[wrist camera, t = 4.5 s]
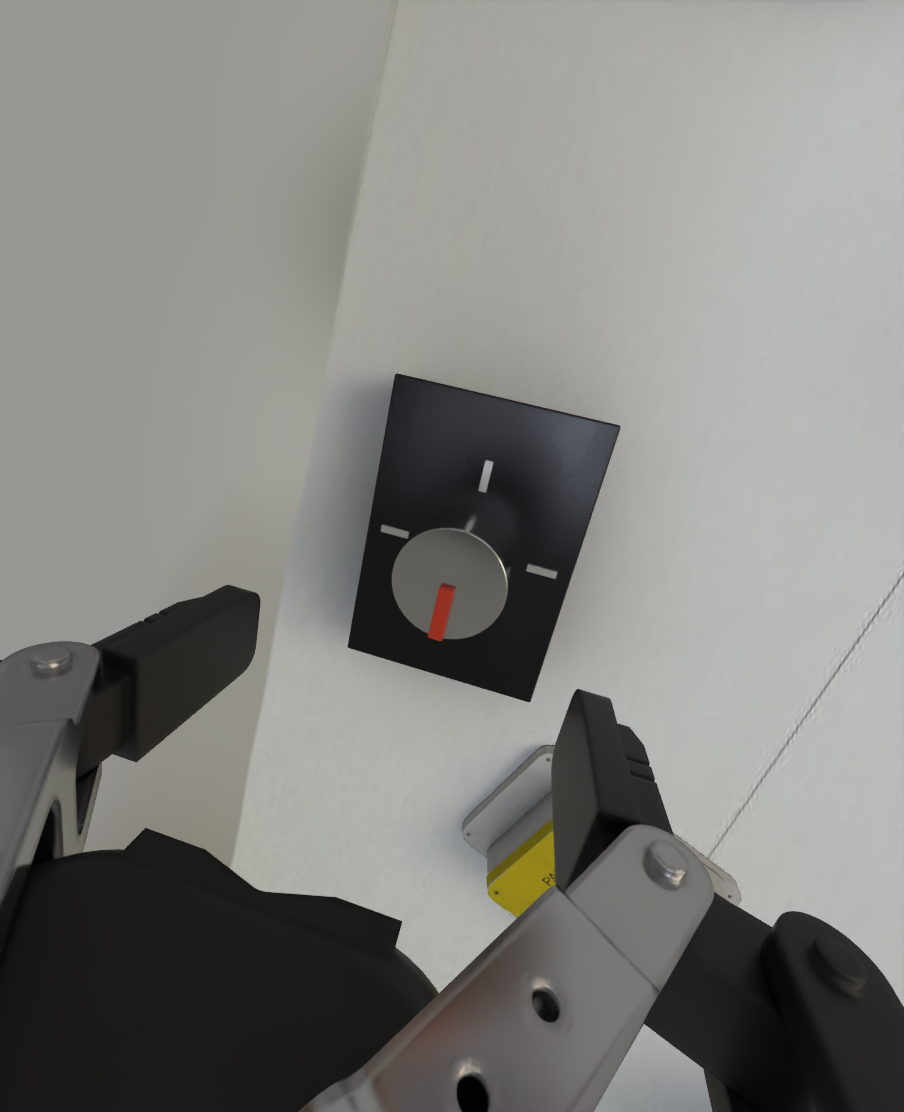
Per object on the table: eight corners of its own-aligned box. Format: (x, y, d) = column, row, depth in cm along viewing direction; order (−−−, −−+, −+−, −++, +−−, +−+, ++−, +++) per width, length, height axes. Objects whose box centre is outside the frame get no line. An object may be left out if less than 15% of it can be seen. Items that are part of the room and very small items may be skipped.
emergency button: (651, 1043, 27) (444, 890, 26) (635, 959, 31) (457, 826, 30) (782, 968, 24) (551, 795, 23) (745, 887, 28) (548, 739, 27)
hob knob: (432, 494, 21) (401, 515, 16) (524, 518, 21) (521, 548, 16) (414, 580, 23) (379, 624, 18) (500, 604, 22) (490, 657, 17)
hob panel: (412, 379, 23) (393, 372, 20) (610, 425, 22) (622, 425, 19) (366, 624, 27) (345, 649, 24) (530, 673, 26) (530, 705, 23)
